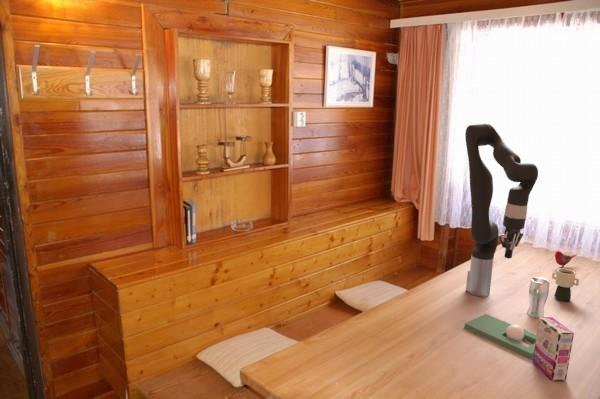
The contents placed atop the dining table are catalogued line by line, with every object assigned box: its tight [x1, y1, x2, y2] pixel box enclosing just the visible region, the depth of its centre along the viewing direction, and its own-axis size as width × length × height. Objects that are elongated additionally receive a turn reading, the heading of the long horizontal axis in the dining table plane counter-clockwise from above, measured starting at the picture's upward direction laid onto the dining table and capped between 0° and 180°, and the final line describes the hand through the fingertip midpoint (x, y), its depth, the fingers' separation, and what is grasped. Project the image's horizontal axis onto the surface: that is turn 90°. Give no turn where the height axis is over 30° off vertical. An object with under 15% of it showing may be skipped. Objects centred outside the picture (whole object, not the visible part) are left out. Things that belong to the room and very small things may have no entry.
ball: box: [506, 324, 524, 343], centre depth 169 cm, size 6×6×6 cm
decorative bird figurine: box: [554, 250, 578, 269], centre depth 242 cm, size 3×18×10 cm, turn 115°
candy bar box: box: [532, 316, 575, 382], centre depth 149 cm, size 11×5×16 cm, turn 5°
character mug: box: [551, 268, 580, 301], centre depth 204 cm, size 11×7×13 cm, turn 39°
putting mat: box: [463, 313, 537, 360], centre depth 172 cm, size 26×14×2 cm, turn 37°
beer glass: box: [527, 276, 550, 319], centre depth 189 cm, size 7×7×15 cm
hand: (507, 257), depth 182 cm, fingers closed
